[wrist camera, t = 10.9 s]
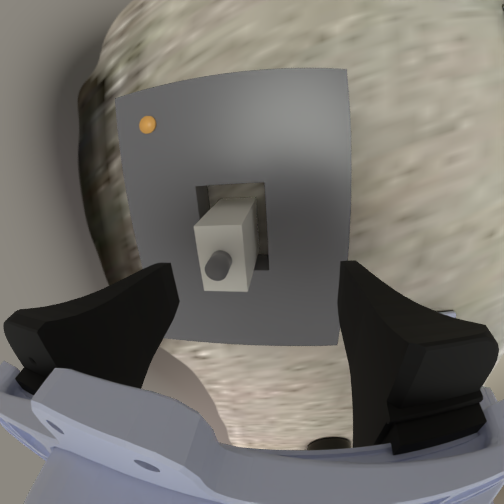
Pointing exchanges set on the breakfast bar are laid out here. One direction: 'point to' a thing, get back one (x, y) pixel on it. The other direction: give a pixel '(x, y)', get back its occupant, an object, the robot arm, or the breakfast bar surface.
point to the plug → (228, 244)
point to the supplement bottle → (329, 444)
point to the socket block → (245, 171)
